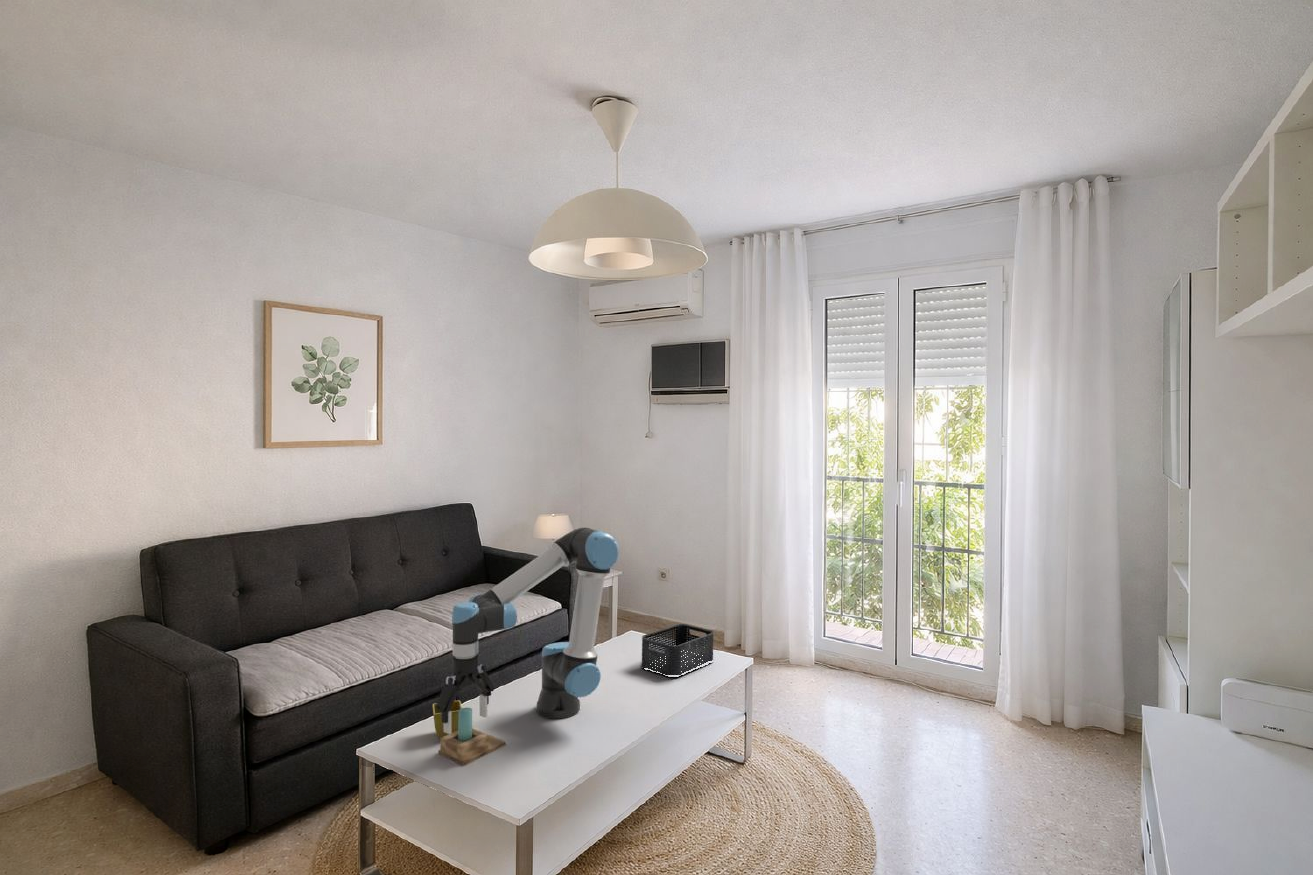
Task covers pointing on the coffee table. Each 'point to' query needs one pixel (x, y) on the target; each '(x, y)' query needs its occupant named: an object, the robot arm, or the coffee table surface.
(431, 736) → the coffee table surface
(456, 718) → the flower pot
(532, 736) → the coffee table surface
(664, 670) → the storage bin
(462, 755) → the socket board
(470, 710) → the peg
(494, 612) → the robot arm
